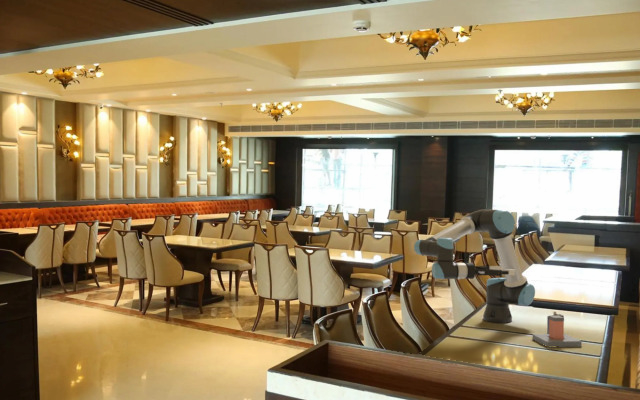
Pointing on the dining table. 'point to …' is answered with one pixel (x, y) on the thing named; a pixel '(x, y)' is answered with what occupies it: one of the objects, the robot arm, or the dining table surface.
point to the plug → (556, 327)
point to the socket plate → (557, 340)
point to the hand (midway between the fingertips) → (508, 270)
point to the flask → (548, 320)
